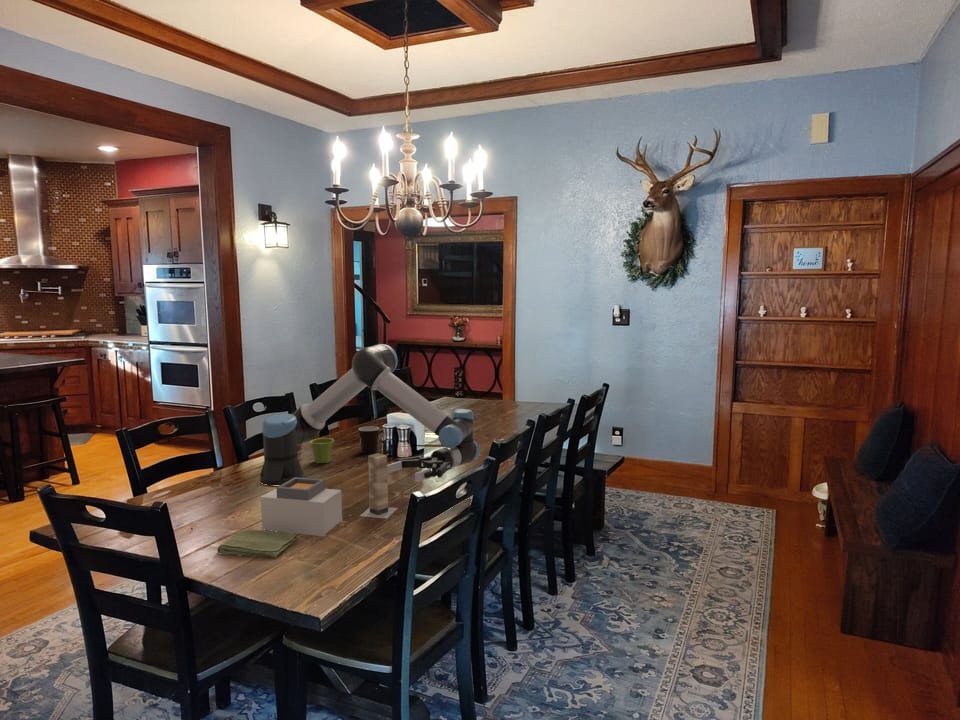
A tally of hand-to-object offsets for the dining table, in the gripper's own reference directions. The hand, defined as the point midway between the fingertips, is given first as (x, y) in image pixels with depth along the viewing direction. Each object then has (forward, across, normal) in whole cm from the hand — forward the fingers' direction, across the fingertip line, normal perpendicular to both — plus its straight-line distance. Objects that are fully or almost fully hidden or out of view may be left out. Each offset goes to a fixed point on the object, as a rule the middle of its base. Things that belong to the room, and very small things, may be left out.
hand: (400, 473), depth 199 cm
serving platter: (-64, +54, -11) cm, 84 cm away
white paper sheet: (+10, 0, -11) cm, 14 cm away
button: (+30, +10, -2) cm, 32 cm away
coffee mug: (-38, +59, -11) cm, 71 cm away
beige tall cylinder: (+10, 0, -10) cm, 14 cm away
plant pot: (-15, +61, -11) cm, 64 cm away
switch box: (+30, +10, -11) cm, 34 cm away
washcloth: (+47, +7, -11) cm, 48 cm away
